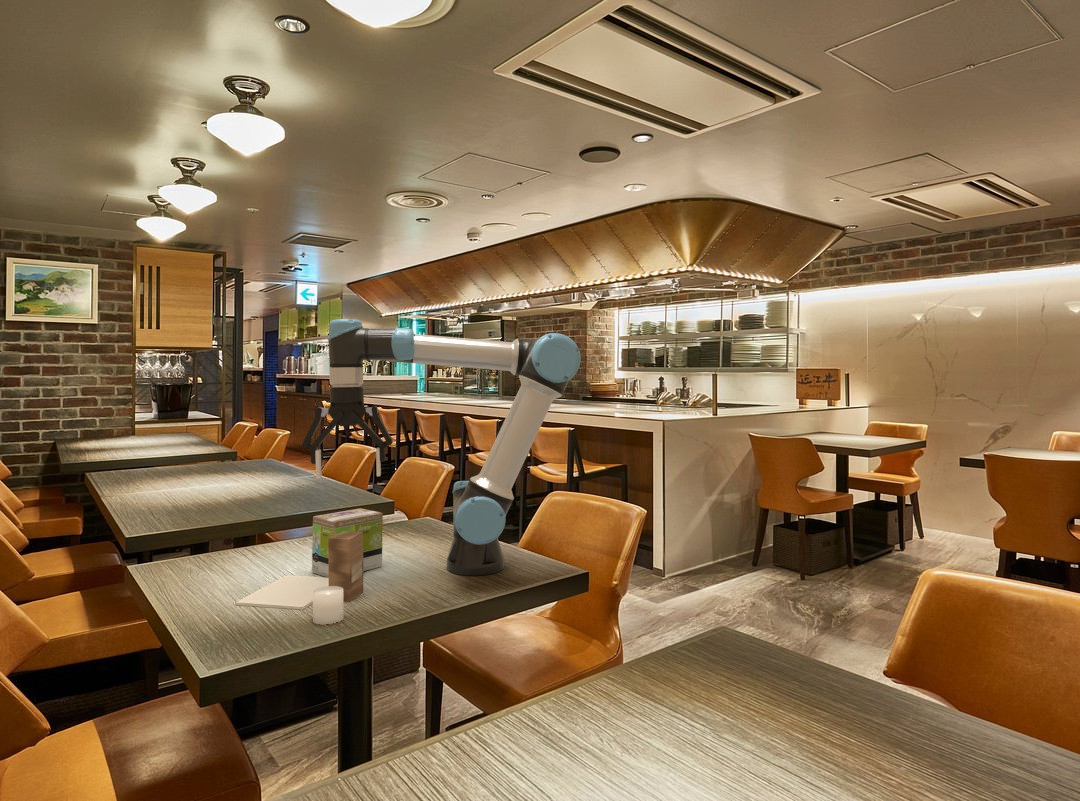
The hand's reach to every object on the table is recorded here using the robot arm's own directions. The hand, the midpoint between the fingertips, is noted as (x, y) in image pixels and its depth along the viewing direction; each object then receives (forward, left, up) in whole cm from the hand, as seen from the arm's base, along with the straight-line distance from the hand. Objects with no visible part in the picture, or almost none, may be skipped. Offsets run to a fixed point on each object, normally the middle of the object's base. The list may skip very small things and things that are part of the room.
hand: (349, 476), depth 152 cm
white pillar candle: (-4, +19, -27) cm, 33 cm away
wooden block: (-1, +5, -27) cm, 27 cm away
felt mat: (+12, +5, -27) cm, 29 cm away
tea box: (+8, -14, -27) cm, 31 cm away
